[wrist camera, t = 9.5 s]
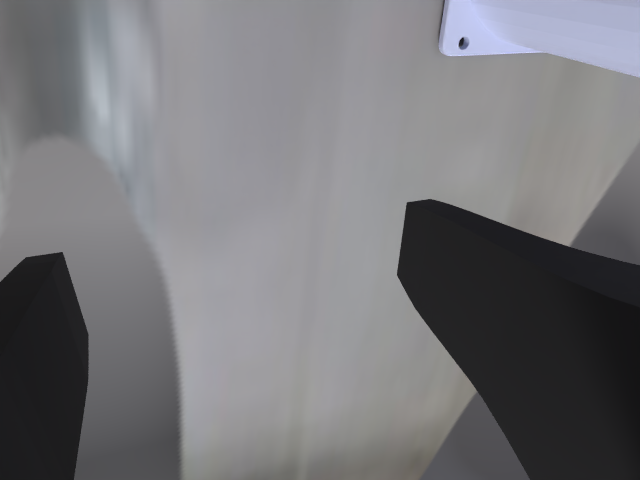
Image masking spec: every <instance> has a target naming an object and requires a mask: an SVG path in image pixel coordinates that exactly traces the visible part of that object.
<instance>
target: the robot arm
mask: <svg viewBox="0 0 640 480" xmlns="http://www.w3.org/2000/svg"><path fill="white" fill-rule="evenodd" d="M462 37H463V38H464V43H463V45H462V46H461V47H460V48H459V46H458V43H459V41H460V39H461V38H462ZM439 49H440V51H441V52H442V53H443V54H445V55H448V56H466V55H489V54H513V53H536V52H546V53H550V54H554V55H558V56H561V57H565V58H569V59H573V60H576V61H580V62H584V63H588V64H591V65H595V66H599V67H603V68H606V69H610V70H614V71H618V72H621V73H625V74H629V75H633V76H636V77H640V0H445V4H444V11H443V18H442V24H441V31H440V38H439ZM397 276H398V278H399V280H400V282H401V284H402V285H403V287H404V289H405V291H406V293H407V295H408V297H409V298H410V300H411V302H412V304H413V305H414V307H415V309H416V310H417V311H418V313H419V314H420V316H421V317H422V318H423V320H424V321H425V322H426V324H427V325H428V326H429V328H430V329H431V330H432V332H433V333H434V334H435V336H436V337H437V338H438V339H439V341H440V342H441V343H442V345H443V346H444V347H445V349H446V350H447V351H448V352H449V354H450V355H451V356H452V358H453V359H454V360H455V362H456V363H457V364H458V366H459V367H460V368H461V369H462V371H463V372H464V373H465V375H466V376H467V377H468V379H469V380H470V381H471V383H472V384H473V385H474V387H475V388H476V390H477V391H478V393H479V394H480V395H481V397H482V398H483V400H484V402H485V403H486V405H487V406H488V408H489V410H490V411H491V413H492V415H493V416H494V418H495V420H496V421H497V423H498V425H499V426H500V428H501V429H502V431H503V432H504V434H505V436H506V438H507V439H508V441H509V443H510V445H511V446H512V448H513V450H514V452H515V453H516V455H517V457H518V459H519V461H520V462H521V464H522V466H523V467H524V469H525V471H526V473H527V475H528V476H529V478H530V480H640V265H636V264H631V263H627V262H622V261H619V260H615V259H611V258H607V257H603V256H599V255H596V254H592V253H588V252H585V251H581V250H578V249H575V248H571V247H568V246H565V245H562V244H559V243H556V242H553V241H550V240H547V239H544V238H541V237H538V236H535V235H532V234H529V233H526V232H523V231H521V230H518V229H515V228H513V227H510V226H507V225H504V224H502V223H499V222H496V221H494V220H491V219H488V218H486V217H483V216H480V215H478V214H475V213H472V212H470V211H467V210H464V209H462V208H459V207H456V206H453V205H450V204H447V203H443V202H440V201H436V200H432V199H428V200H421V201H414V202H407V205H406V213H405V220H404V227H403V234H402V242H401V249H400V256H399V264H398V271H397ZM87 385H88V332H87V329H86V325H85V322H84V319H83V316H82V313H81V309H80V306H79V303H78V300H77V297H76V293H75V290H74V287H73V284H72V281H71V277H70V274H69V271H68V268H67V265H66V261H65V258H64V255H63V252H60V253H53V254H46V255H40V256H32V257H26V258H25V259H24V260H23V261H21V262H20V263H19V264H18V265H17V266H16V267H15V268H14V269H13V270H12V271H11V272H10V273H9V274H8V275H7V276H6V277H5V278H4V279H3V280H2V281H1V282H0V480H74V473H75V468H76V461H77V454H78V447H79V441H80V434H81V427H82V421H83V414H84V407H85V399H86V393H87Z"/></svg>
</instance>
